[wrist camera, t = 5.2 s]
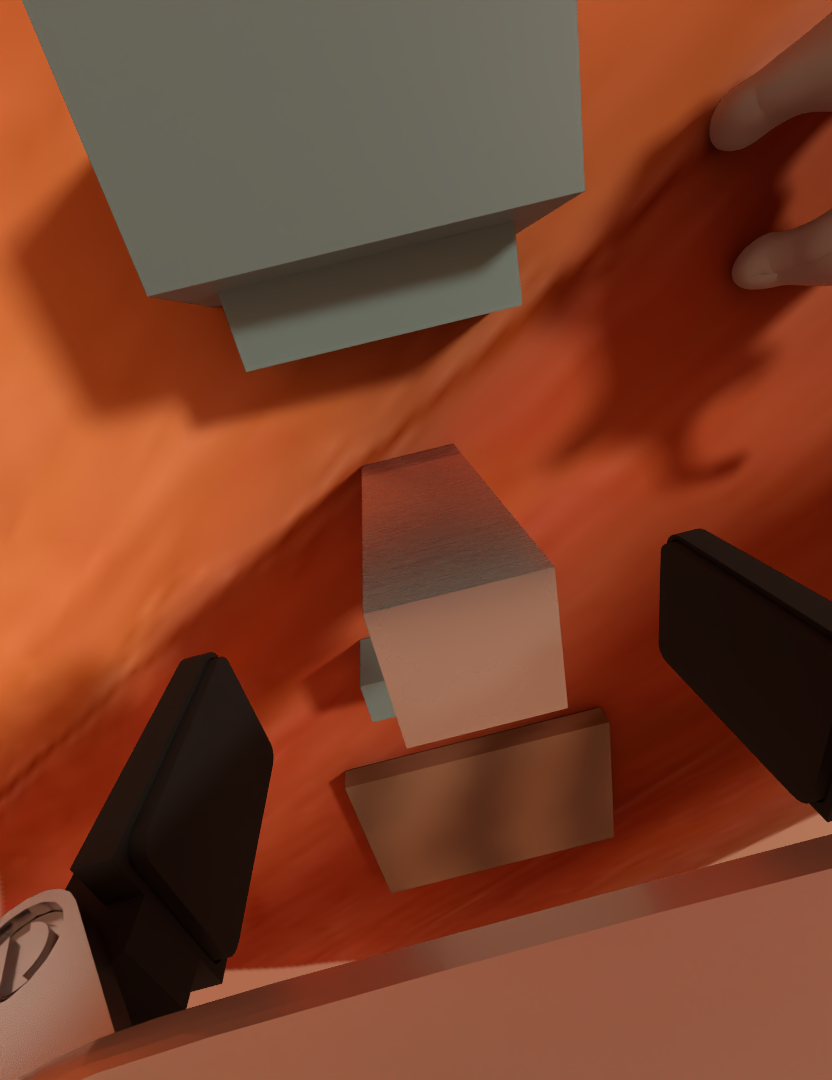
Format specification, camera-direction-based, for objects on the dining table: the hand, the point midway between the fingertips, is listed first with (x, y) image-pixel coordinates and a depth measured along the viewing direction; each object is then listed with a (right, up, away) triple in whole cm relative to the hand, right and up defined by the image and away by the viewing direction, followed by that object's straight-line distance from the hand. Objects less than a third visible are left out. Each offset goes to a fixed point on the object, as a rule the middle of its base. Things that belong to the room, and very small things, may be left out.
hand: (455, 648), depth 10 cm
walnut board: (+3, -13, +17) cm, 21 cm away
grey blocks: (-1, +6, +7) cm, 10 cm away
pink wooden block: (-1, +3, +9) cm, 9 cm away
